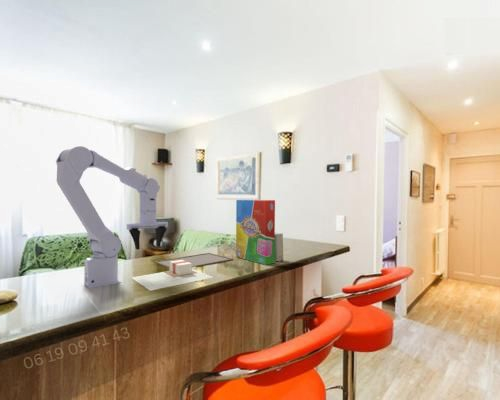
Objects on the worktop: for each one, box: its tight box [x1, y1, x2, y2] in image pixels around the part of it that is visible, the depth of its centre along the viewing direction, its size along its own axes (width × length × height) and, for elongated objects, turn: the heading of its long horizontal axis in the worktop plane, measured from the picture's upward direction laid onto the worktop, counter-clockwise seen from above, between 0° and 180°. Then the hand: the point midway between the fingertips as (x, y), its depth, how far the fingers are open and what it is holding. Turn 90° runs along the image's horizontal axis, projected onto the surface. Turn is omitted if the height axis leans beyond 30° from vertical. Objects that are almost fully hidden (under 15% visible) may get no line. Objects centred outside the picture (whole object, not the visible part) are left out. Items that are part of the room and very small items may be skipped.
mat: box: [130, 268, 214, 291], centre depth 97 cm, size 22×18×1 cm
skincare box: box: [275, 232, 284, 262], centre depth 126 cm, size 6×4×12 cm
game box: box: [235, 199, 276, 266], centre depth 126 cm, size 21×6×27 cm, turn 41°
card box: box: [169, 260, 193, 276], centre depth 103 cm, size 8×5×4 cm, turn 38°
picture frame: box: [154, 252, 234, 268], centre depth 124 cm, size 19×1×28 cm
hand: (148, 247), depth 104 cm, fingers open, 7 cm apart
